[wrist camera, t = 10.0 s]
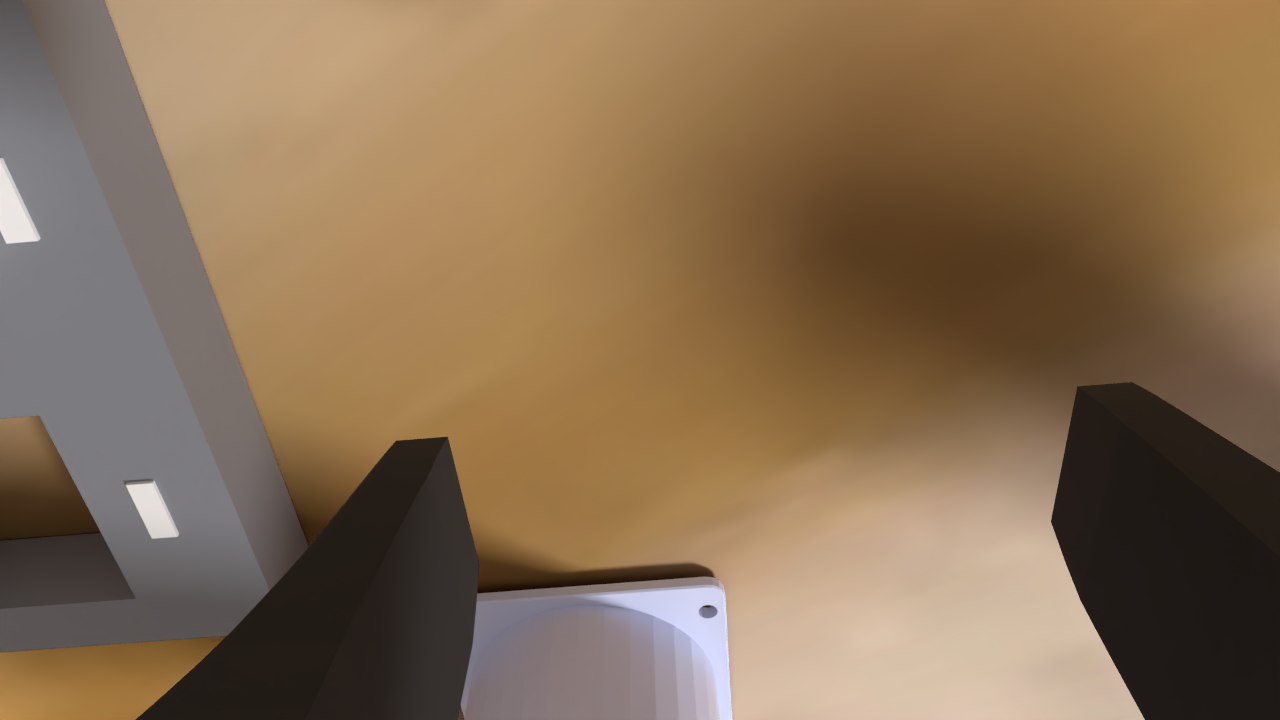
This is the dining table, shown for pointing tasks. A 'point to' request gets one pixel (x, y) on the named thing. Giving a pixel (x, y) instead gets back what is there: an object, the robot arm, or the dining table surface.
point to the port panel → (120, 362)
